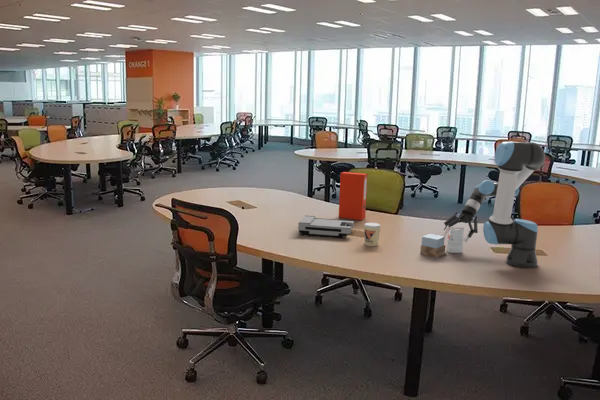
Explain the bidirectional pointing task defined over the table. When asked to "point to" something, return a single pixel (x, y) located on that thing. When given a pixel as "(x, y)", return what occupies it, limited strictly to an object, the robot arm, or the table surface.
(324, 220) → the game console
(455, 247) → the ink box
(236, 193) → the table surface
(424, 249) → the walnut base block
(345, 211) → the file binder
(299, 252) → the table surface
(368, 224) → the coffee cup
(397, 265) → the table surface
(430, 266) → the table surface
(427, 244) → the grey-blue top block
